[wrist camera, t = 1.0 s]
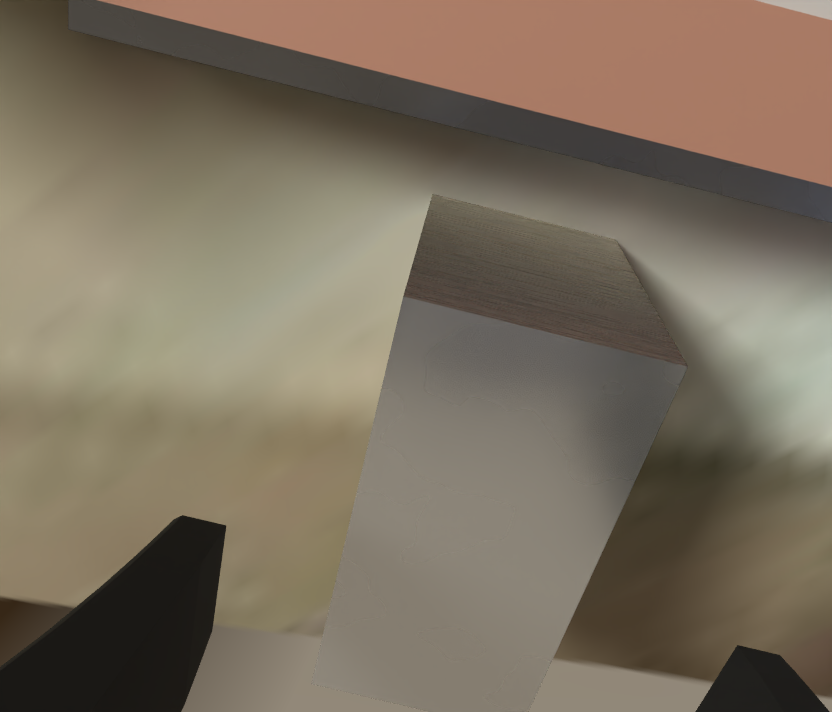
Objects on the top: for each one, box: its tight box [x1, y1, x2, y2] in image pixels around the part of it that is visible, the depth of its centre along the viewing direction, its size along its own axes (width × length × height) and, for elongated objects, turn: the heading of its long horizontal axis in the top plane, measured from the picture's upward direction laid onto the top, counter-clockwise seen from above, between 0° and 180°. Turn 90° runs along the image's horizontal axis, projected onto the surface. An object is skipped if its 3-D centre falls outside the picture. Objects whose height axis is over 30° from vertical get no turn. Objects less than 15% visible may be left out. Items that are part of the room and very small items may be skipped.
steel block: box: [312, 194, 688, 712], centre depth 14 cm, size 4×8×6 cm, turn 167°
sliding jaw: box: [99, 0, 832, 187], centre depth 11 cm, size 17×2×3 cm, turn 77°
